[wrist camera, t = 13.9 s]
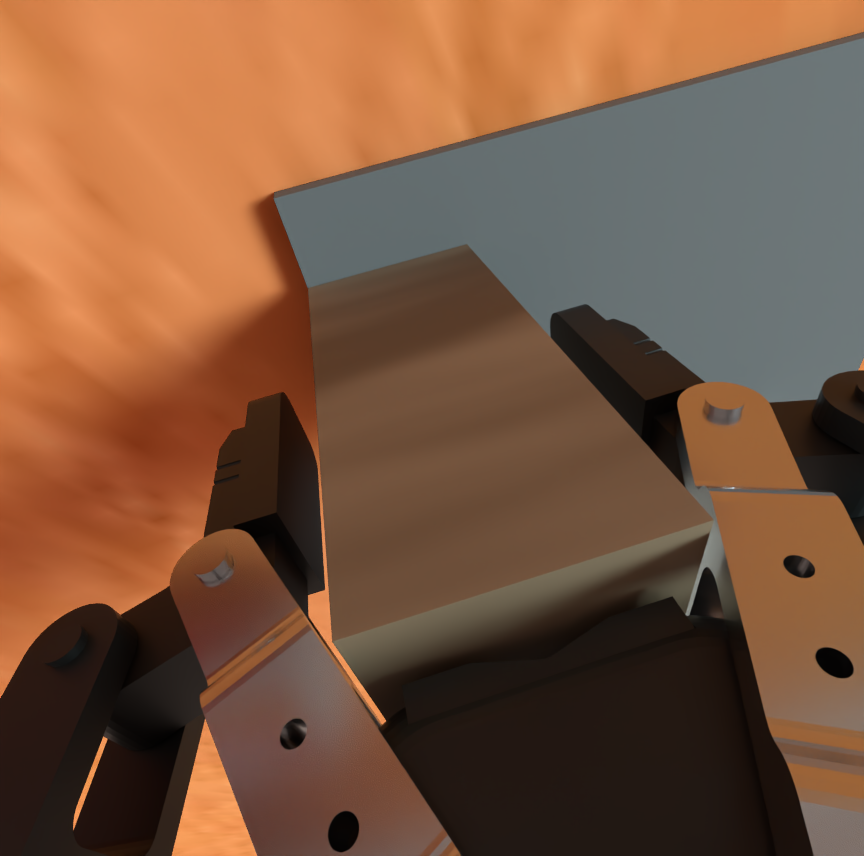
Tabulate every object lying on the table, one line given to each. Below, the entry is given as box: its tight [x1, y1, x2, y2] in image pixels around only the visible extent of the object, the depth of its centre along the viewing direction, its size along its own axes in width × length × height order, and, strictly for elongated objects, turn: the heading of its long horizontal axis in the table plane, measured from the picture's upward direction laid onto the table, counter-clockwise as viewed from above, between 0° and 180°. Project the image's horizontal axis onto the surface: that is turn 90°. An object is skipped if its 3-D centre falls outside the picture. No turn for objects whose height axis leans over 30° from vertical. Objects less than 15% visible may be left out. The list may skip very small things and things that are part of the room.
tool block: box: [308, 244, 714, 721], centre depth 10 cm, size 4×4×9 cm
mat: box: [274, 32, 864, 402], centre depth 18 cm, size 22×18×1 cm
